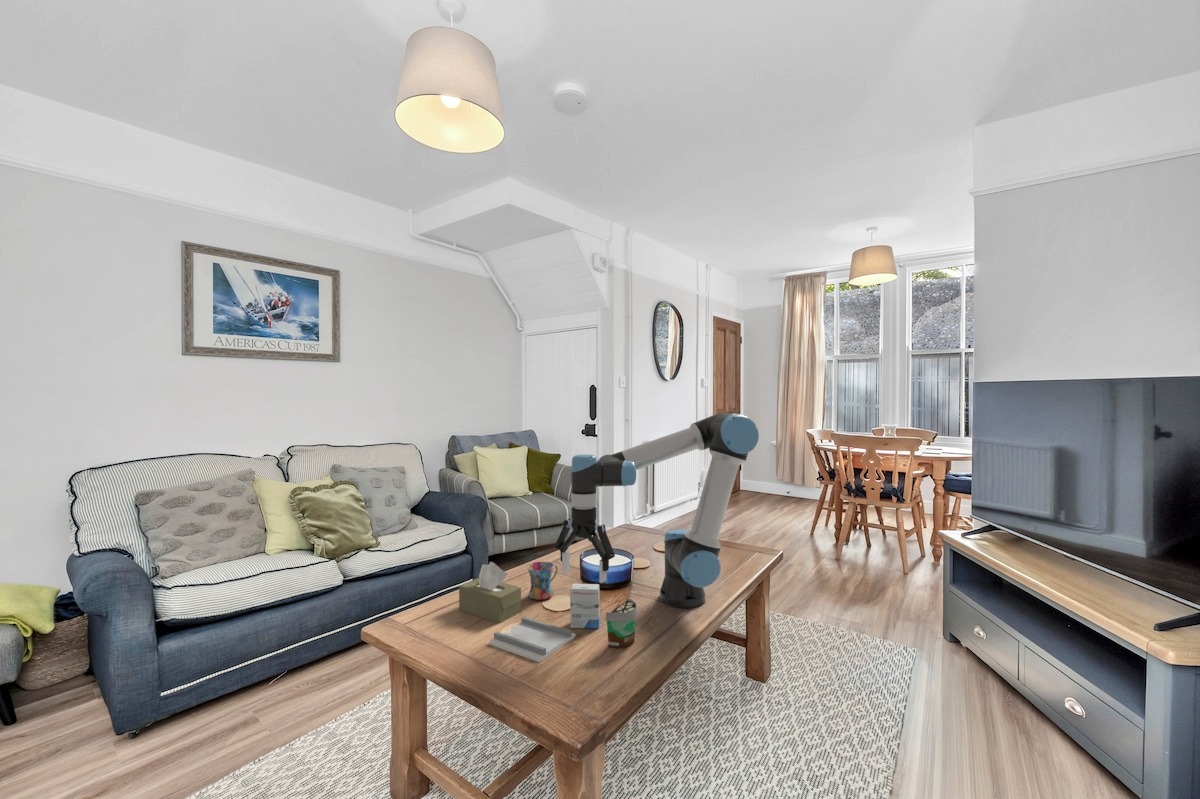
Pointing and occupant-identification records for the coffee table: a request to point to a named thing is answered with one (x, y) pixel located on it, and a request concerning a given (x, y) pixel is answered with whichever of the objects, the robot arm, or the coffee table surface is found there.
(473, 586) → the tissue box
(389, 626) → the coffee table surface
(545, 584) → the mug
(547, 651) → the rail mount
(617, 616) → the food container
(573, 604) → the ink box
